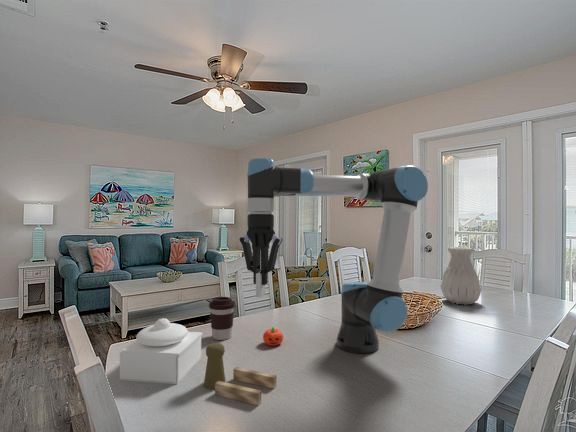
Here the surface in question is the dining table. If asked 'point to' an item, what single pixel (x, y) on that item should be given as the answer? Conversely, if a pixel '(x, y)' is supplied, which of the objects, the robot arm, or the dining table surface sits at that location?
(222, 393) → the pair of wooden strips
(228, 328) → the coffee cup
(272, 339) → the pumpkin
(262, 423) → the dining table surface
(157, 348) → the butter dish
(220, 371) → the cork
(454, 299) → the vase
